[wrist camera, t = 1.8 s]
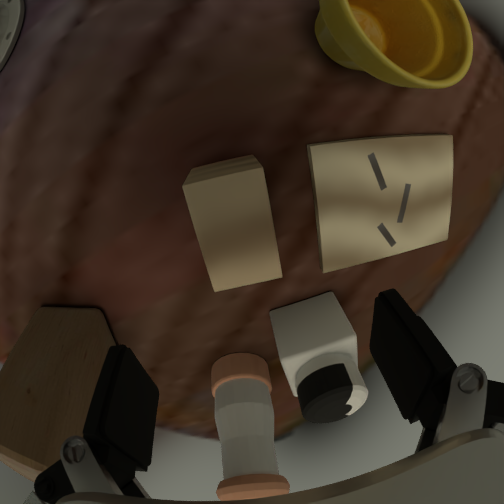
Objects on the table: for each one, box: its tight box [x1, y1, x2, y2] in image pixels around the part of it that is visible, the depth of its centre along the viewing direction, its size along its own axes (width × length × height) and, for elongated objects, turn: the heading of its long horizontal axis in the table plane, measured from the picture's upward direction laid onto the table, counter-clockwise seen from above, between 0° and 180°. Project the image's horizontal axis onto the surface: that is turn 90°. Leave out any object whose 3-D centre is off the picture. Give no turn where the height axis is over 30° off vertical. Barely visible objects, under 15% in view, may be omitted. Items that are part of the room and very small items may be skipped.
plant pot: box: [315, 0, 473, 89], centre depth 13 cm, size 10×10×10 cm
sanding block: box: [182, 154, 282, 292], centre depth 21 cm, size 8×5×6 cm, turn 11°
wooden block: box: [0, 307, 116, 482], centre depth 20 cm, size 10×10×20 cm
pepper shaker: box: [211, 353, 290, 501], centre depth 25 cm, size 7×7×19 cm
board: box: [307, 134, 453, 273], centre depth 24 cm, size 12×16×1 cm
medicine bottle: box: [270, 292, 368, 423], centre depth 25 cm, size 7×7×12 cm
